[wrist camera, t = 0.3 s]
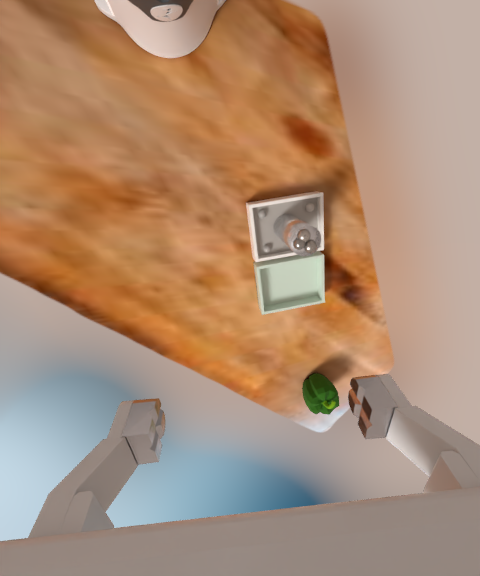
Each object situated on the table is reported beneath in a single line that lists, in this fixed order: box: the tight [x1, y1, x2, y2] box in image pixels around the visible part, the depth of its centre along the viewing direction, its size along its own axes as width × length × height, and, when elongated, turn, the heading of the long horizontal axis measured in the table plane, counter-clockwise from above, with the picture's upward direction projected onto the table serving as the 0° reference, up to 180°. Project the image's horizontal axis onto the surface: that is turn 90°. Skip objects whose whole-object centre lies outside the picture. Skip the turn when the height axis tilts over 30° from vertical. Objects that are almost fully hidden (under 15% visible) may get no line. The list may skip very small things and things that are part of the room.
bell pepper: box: [302, 373, 339, 414], centre depth 70 cm, size 8×8×10 cm
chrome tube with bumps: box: [274, 214, 321, 256], centre depth 49 cm, size 5×5×12 cm
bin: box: [253, 251, 325, 315], centre depth 60 cm, size 11×14×3 cm
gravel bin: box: [246, 191, 324, 262], centre depth 55 cm, size 11×14×3 cm
